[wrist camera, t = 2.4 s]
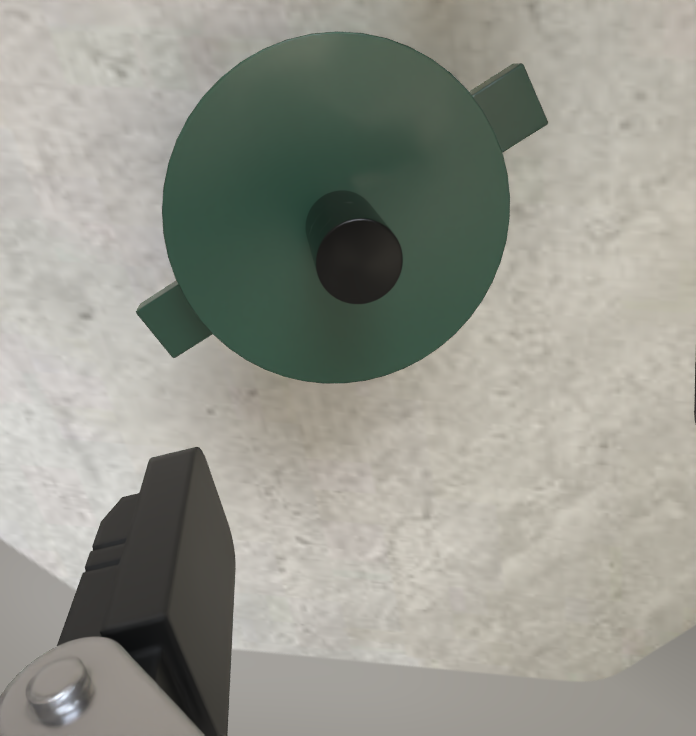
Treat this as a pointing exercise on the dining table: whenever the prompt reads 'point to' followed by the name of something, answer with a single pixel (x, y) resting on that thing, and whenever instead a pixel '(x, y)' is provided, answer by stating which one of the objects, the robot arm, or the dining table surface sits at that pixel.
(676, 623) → the dining table surface
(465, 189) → the lid
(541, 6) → the dining table surface
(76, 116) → the dining table surface
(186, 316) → the pot
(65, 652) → the robot arm
